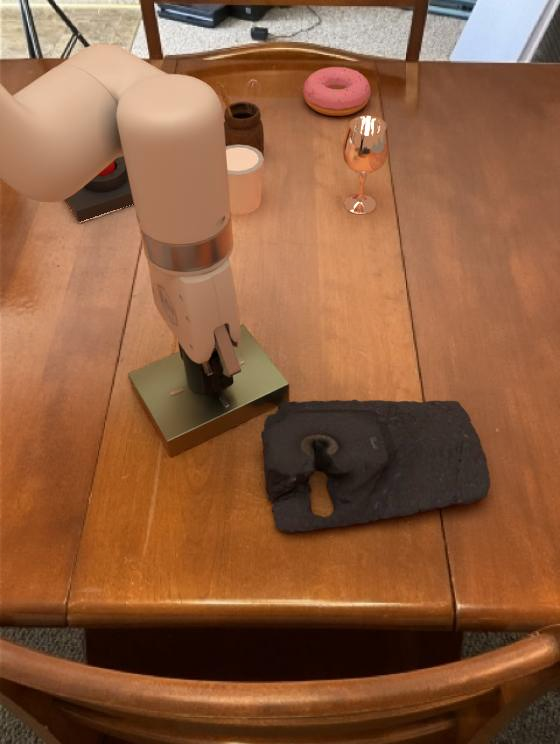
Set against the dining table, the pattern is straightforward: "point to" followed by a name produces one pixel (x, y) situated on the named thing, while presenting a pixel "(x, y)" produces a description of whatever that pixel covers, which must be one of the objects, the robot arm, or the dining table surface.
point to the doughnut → (336, 91)
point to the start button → (108, 170)
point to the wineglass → (364, 157)
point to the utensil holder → (242, 122)
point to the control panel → (207, 413)
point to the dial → (194, 372)
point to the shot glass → (244, 178)
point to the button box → (102, 194)
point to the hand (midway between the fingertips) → (206, 370)
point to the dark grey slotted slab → (370, 460)
